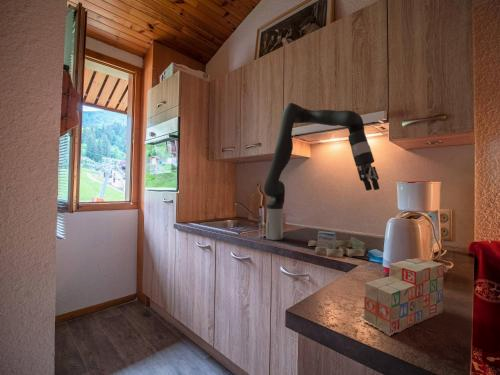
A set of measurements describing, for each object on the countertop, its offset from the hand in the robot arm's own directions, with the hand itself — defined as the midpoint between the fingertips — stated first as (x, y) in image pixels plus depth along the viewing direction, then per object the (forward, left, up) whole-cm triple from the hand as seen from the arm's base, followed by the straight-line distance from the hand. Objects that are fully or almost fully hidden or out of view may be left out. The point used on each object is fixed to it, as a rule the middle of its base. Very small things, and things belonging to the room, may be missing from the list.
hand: (373, 189), depth 104 cm
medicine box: (-16, +11, -29) cm, 35 cm away
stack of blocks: (-16, -46, -29) cm, 57 cm away
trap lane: (-12, +10, -29) cm, 33 cm away
